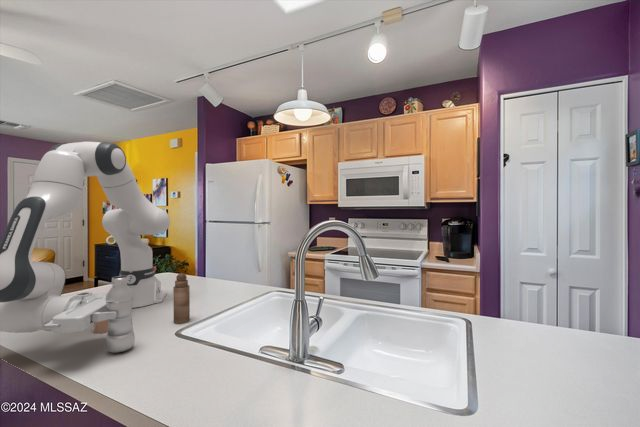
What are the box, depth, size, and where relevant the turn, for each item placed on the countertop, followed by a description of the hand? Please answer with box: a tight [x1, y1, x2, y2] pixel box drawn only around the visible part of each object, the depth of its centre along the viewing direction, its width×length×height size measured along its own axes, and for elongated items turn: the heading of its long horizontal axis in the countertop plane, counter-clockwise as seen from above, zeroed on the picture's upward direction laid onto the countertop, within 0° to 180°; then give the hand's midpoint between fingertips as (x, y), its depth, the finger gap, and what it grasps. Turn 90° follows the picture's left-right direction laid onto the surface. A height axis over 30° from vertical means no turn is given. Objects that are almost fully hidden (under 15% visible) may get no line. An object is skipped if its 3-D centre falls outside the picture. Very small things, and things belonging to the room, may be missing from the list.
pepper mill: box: [172, 272, 191, 325], centre depth 103 cm, size 5×5×17 cm
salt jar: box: [93, 320, 109, 334], centre depth 95 cm, size 6×6×9 cm
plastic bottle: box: [105, 275, 136, 354], centre depth 81 cm, size 6×7×20 cm
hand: (123, 309), depth 82 cm, fingers closed on plastic bottle, 6 cm apart
